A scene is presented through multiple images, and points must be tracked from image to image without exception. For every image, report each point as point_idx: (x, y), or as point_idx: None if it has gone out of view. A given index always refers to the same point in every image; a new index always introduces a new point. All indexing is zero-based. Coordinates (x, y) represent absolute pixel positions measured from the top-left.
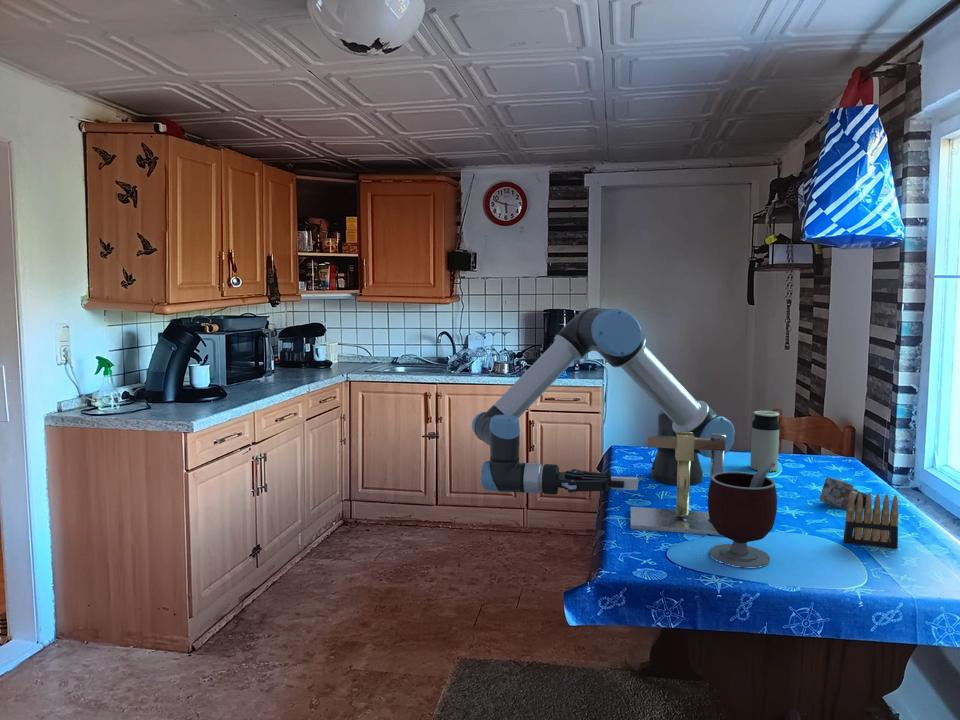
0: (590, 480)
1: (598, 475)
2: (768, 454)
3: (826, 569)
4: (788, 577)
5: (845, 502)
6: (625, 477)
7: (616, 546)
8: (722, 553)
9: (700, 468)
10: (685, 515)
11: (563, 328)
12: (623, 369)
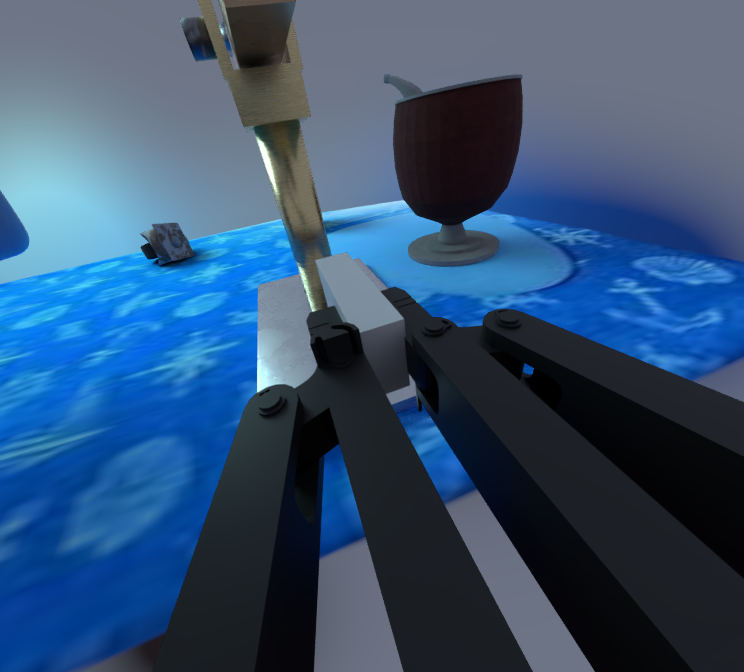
0: (680, 422)
1: (363, 446)
2: None
3: (417, 221)
4: (471, 222)
5: (189, 247)
6: (336, 283)
7: (653, 355)
8: (473, 247)
9: None
10: (299, 322)
11: None
12: None
